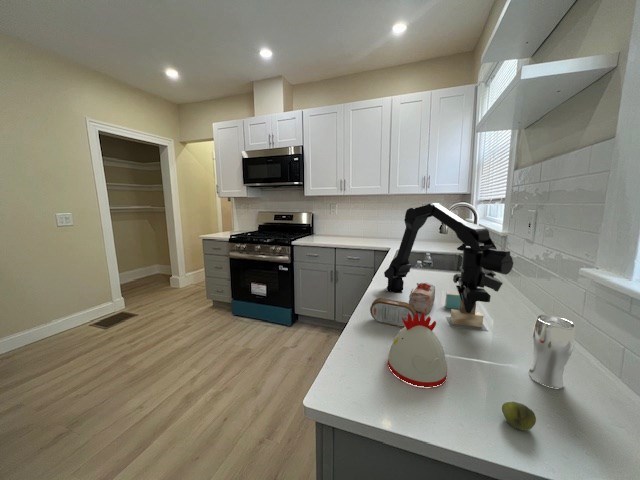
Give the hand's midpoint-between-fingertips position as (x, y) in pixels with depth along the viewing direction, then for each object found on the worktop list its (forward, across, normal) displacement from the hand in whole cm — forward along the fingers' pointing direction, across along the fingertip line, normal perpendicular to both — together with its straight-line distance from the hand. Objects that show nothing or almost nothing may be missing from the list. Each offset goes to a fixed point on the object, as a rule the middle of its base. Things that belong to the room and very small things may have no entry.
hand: (467, 310), depth 83 cm
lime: (+5, -40, +1) cm, 40 cm away
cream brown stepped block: (+5, 0, 0) cm, 5 cm away
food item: (+5, +10, +13) cm, 17 cm away
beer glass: (+5, -24, -11) cm, 26 cm away
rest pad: (+5, 0, 0) cm, 5 cm away
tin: (+5, -6, +24) cm, 25 cm away
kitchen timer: (+5, -28, +18) cm, 33 cm away
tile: (+5, +12, 0) cm, 14 cm away
